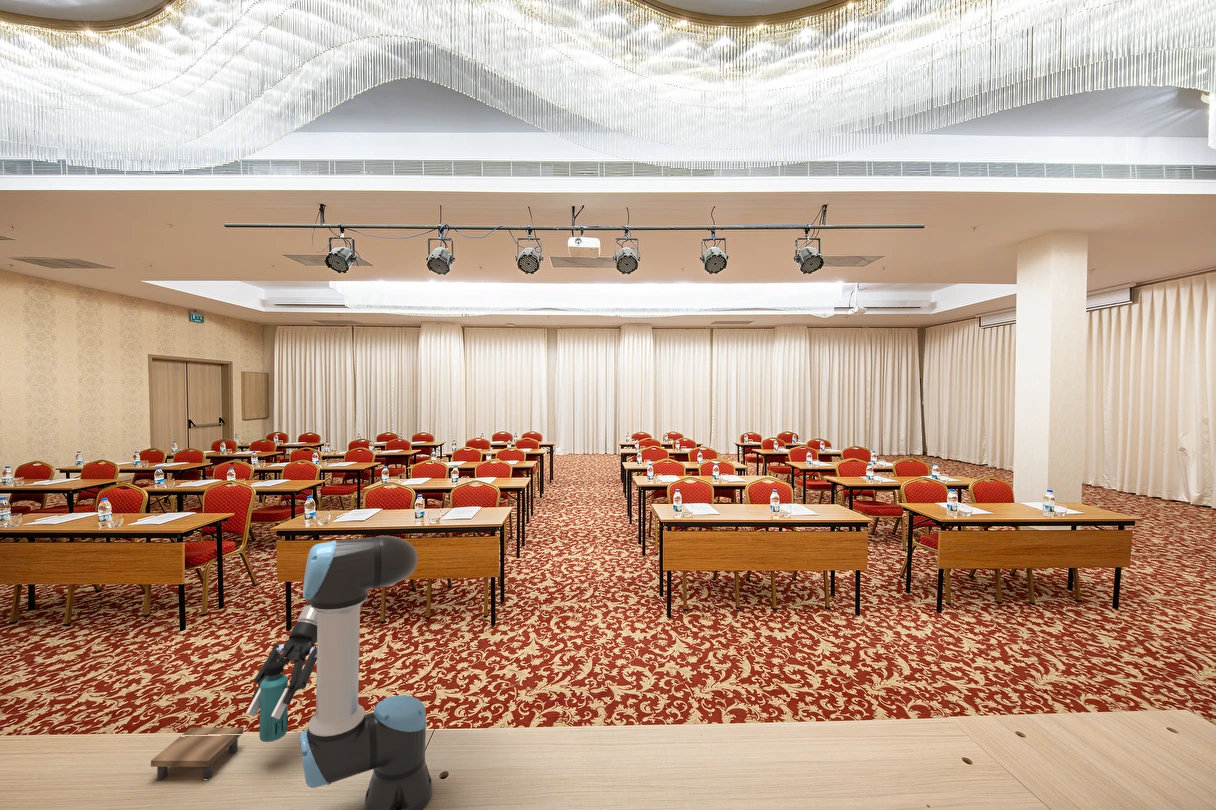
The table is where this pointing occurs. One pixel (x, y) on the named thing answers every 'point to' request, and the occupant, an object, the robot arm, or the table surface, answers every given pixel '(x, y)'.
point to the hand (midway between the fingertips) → (262, 715)
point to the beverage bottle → (272, 703)
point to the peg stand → (197, 750)
